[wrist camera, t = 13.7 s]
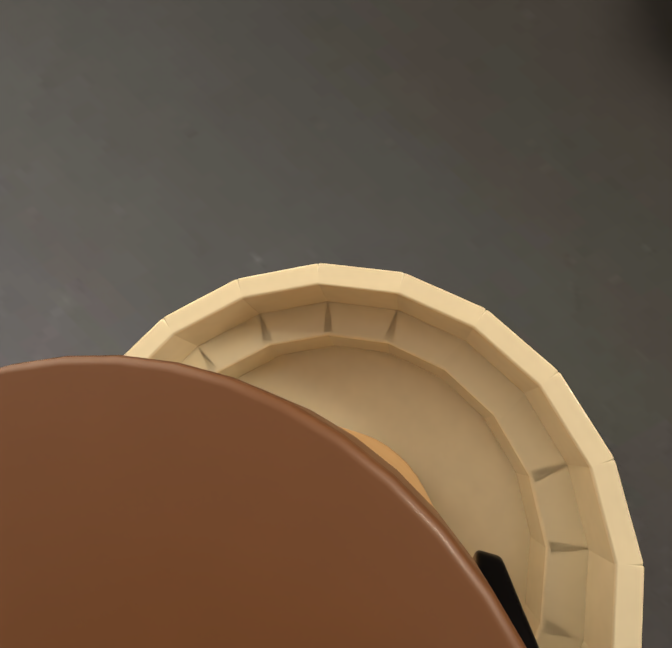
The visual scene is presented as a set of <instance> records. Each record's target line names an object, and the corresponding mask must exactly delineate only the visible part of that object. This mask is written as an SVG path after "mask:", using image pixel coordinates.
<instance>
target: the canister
mask: <svg viewBox="0 0 672 648" xmlns="http://www.w3.org/2000/svg"><path fill="white" fill-rule="evenodd" d="M0 648H527V647H526V646H525V644H524V642H523V641H522V639H521V637H520V635H519V634H518V632H517V630H516V629H515V627H514V625H513V624H512V622H511V620H510V618H509V617H508V615H507V613H506V612H505V610H504V608H503V607H502V605H501V603H500V601H499V600H498V598H497V596H496V595H495V593H494V591H493V589H492V588H491V586H490V585H489V583H488V582H487V580H486V578H485V577H484V575H483V574H482V572H481V570H480V569H479V567H478V566H477V564H476V563H475V561H474V559H473V558H472V557H471V555H470V554H469V553H468V551H467V550H466V549H465V547H464V546H463V545H462V543H461V542H460V541H459V539H458V538H457V537H456V535H455V534H454V533H453V532H452V530H451V529H450V528H449V526H448V525H447V524H446V522H445V521H444V520H443V518H442V517H441V516H440V514H439V513H438V512H437V510H436V509H435V508H434V507H433V505H432V503H431V501H430V499H429V497H428V495H427V493H426V491H425V489H424V487H423V486H422V484H421V482H420V481H419V479H418V477H417V475H416V474H415V473H414V471H413V470H412V469H411V467H410V466H409V465H408V464H407V463H406V462H405V461H404V460H403V459H402V458H401V457H400V456H399V455H398V454H397V453H396V452H395V451H393V450H392V449H391V448H390V447H388V446H387V445H385V444H383V443H382V442H380V441H378V440H376V439H374V438H372V437H369V436H367V435H365V434H362V433H358V432H355V431H352V430H349V429H346V428H342V427H339V426H337V425H335V424H334V423H332V422H330V421H329V420H327V419H325V418H324V417H322V416H320V415H319V414H317V413H315V412H314V411H312V410H310V409H308V408H305V407H303V406H301V405H298V404H296V403H294V402H291V401H289V400H287V399H284V398H282V397H280V396H277V395H275V394H273V393H270V392H268V391H266V390H263V389H261V388H258V387H256V386H253V385H251V384H249V383H246V382H244V381H241V380H239V379H236V378H234V377H230V376H227V375H223V374H219V373H216V372H212V371H208V370H205V369H201V368H197V367H194V366H190V365H186V364H183V363H179V362H172V361H164V360H156V359H148V358H140V357H133V356H125V355H103V356H64V357H57V358H51V359H44V360H37V361H31V362H24V363H17V364H12V365H8V366H5V367H2V368H0Z"/></svg>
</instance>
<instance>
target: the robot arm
mask: <svg viewBox="0 0 672 648" xmlns="http://www.w3.org/2000/svg"><path fill="white" fill-rule="evenodd" d="M473 559H474V561H475V563H476V564H477V566H478V567H479V569H480V570H481V572H482V574H483V575H484V577H485V578H486V580H487V582H488V583H489V585H490V586H491V588H492V589H493V591H494V593H495V595H496V596H497V598H498V600H499V601H500V603H501V605H502V607H503V608H504V610H505V612H506V613H507V615H508V617H509V618H510V620H511V622H512V624H513V625H514V627H515V629H516V630H517V632H518V634H519V635H520V637H521V639H522V641H523V642H524V644H525V646H526V647H527V648H539V646H538V644H537V641H536V639H535V637H534V634H533V632H532V629H531V627H530V624H529V622H528V620H527V617H526V615H525V612H524V610H523V607H522V605H521V603H520V600H519V598H518V595H517V593H516V590H515V588H514V586H513V583H512V581H511V578H510V576H509V573H508V571H507V569H506V566H505V564H504V562H503V560H502V558H501V557H500V556H498V555H495V554H492V553H488V552H485V551H481V550H478V551H476V552H475V553H474V556H473Z"/></svg>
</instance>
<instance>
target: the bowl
mask: <svg viewBox="0 0 672 648" xmlns="http://www.w3.org/2000/svg"><path fill="white" fill-rule="evenodd" d="M125 356H133V357H140V358H148V359H156V360H164V361H172V362H179V363H183V364H186V365H190V366H194V367H197V368H201V369H205V370H208V371H212V372H216V373H219V374H223V375H227V376H230V377H234V378H236V379H239V380H241V381H244V382H246V383H249V384H251V385H253V386H256V387H258V388H261V389H263V390H266V391H268V392H270V393H273V394H275V395H277V396H280V397H282V398H284V399H287V400H289V401H291V402H294V403H296V404H298V405H301V406H303V407H305V408H308V409H310V410H312V411H314V412H315V413H317V414H319V415H320V416H322V417H324V418H325V419H327V420H329V421H330V422H332V423H334V424H335V425H337V426H339V427H342V428H346V429H349V430H352V431H355V432H358V433H362V434H365V435H367V436H369V437H372V438H374V439H376V440H378V441H380V442H382V443H383V444H385V445H387V446H388V447H390V448H391V449H392V450H393V451H395V452H396V453H397V454H398V455H399V456H400V457H401V458H402V459H403V460H404V461H405V462H406V463H407V464H408V465H409V466H410V467H411V469H412V470H413V471H414V473H415V474H416V475H417V477H418V479H419V481H420V482H421V484H422V486H423V487H424V489H425V491H426V493H427V495H428V497H429V499H430V501H431V503H432V505H433V507H434V508H435V509H436V510H437V512H438V513H439V514H440V516H441V517H442V518H443V520H444V521H445V522H446V524H447V525H448V526H449V528H450V529H451V530H452V532H453V533H454V534H455V535H456V537H457V538H458V539H459V541H460V542H461V543H462V545H463V546H464V547H465V549H466V550H467V551H468V553H469V554H470V555H471V557H472V558H473V556H474V553H475V552H476V551H478V550H481V551H485V552H488V553H492V554H495V555H498V556H500V557H501V558H502V560H503V562H504V564H505V566H506V569H507V571H508V573H509V576H510V578H511V581H512V583H513V586H514V588H515V590H516V593H517V595H518V598H519V600H520V603H521V605H522V607H523V610H524V612H525V615H526V617H527V620H528V622H529V624H530V627H531V629H532V632H533V634H534V637H535V639H536V641H537V644H538V646H539V648H642V619H643V590H644V566H642V565H643V560H642V556H641V553H640V549H639V545H638V542H637V538H636V535H635V531H634V527H633V524H632V520H631V516H630V513H629V509H628V506H627V502H626V498H625V495H624V491H623V488H622V484H621V480H620V477H619V473H618V469H617V466H616V462H615V461H614V460H613V459H614V458H613V455H612V454H611V452H610V451H609V449H608V448H607V446H606V444H605V443H604V441H603V440H602V438H601V436H600V435H599V433H598V432H597V430H596V429H595V427H594V425H593V424H592V422H591V421H590V419H589V418H588V416H587V414H586V413H585V411H584V410H583V408H582V407H581V405H580V403H579V402H578V400H577V399H576V397H575V396H574V394H573V392H572V391H571V389H570V388H569V386H568V384H567V383H566V381H565V380H564V378H563V377H562V375H561V374H560V373H558V371H557V369H556V368H554V367H553V366H552V365H551V364H550V363H549V362H547V361H546V360H545V359H544V358H543V357H542V356H541V355H539V354H538V353H537V352H536V351H535V350H534V349H532V348H531V347H530V346H529V345H528V344H527V343H525V342H524V341H523V340H522V339H521V338H520V337H518V336H517V335H516V334H515V333H514V332H513V331H512V330H510V329H509V328H508V327H507V326H506V325H505V324H503V323H502V322H501V321H500V320H499V319H498V318H496V317H495V316H494V315H493V314H492V313H491V312H489V311H488V310H485V309H484V308H483V307H481V306H479V305H477V304H474V303H472V302H470V301H467V300H465V299H463V298H461V297H458V296H456V295H454V294H451V293H449V292H447V291H445V290H442V289H440V288H438V287H436V286H433V285H431V284H429V283H426V282H424V281H422V280H420V279H417V278H415V277H413V276H410V275H408V274H404V273H403V272H396V271H387V270H378V269H369V268H360V267H351V266H342V265H334V264H325V263H320V264H312V265H307V266H301V267H296V268H291V269H286V270H281V271H275V272H270V273H265V274H260V275H254V276H249V277H244V278H239V279H238V280H234V281H232V282H230V283H228V284H226V285H224V286H222V287H220V288H219V289H217V290H215V291H213V292H211V293H209V294H207V295H205V296H203V297H201V298H199V299H198V300H196V301H194V302H192V303H190V304H188V305H186V306H184V307H182V308H180V309H179V310H177V311H175V312H173V313H171V314H169V315H167V316H165V317H164V319H161V320H160V321H159V322H158V323H157V324H156V325H155V326H154V327H153V328H152V329H151V330H150V331H149V332H148V333H147V334H145V335H144V336H143V337H142V338H141V339H140V340H139V341H138V342H137V343H136V344H135V345H134V346H133V347H132V348H131V349H130V350H129V351H128V352H127V353H126V354H125Z"/></svg>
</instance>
